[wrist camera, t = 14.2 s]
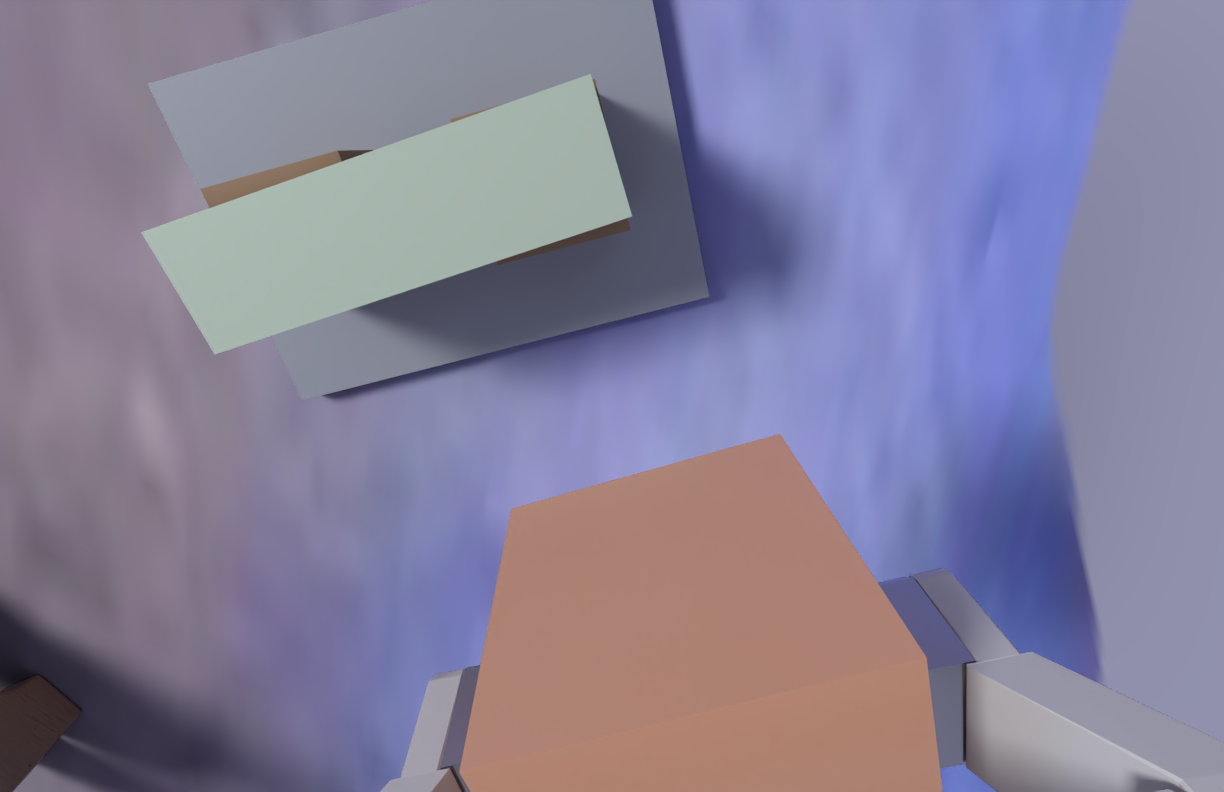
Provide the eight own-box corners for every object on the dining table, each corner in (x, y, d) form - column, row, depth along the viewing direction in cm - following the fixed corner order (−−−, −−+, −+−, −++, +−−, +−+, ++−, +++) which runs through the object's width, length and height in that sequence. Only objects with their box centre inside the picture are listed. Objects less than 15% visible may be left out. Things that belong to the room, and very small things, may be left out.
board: (704, 291, 29) (709, 296, 28) (312, 391, 30) (302, 400, 29) (638, -52, 24) (640, -61, 23) (166, 86, 25) (147, 83, 24)
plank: (625, 205, 22) (632, 216, 18) (268, 324, 23) (214, 354, 20) (590, 85, 20) (590, 73, 17) (209, 219, 21) (141, 232, 18)
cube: (822, 639, 11) (958, 925, 7) (592, 696, 12) (596, 1002, 8) (779, 433, 10) (926, 658, 6) (511, 508, 10) (459, 772, 6)
